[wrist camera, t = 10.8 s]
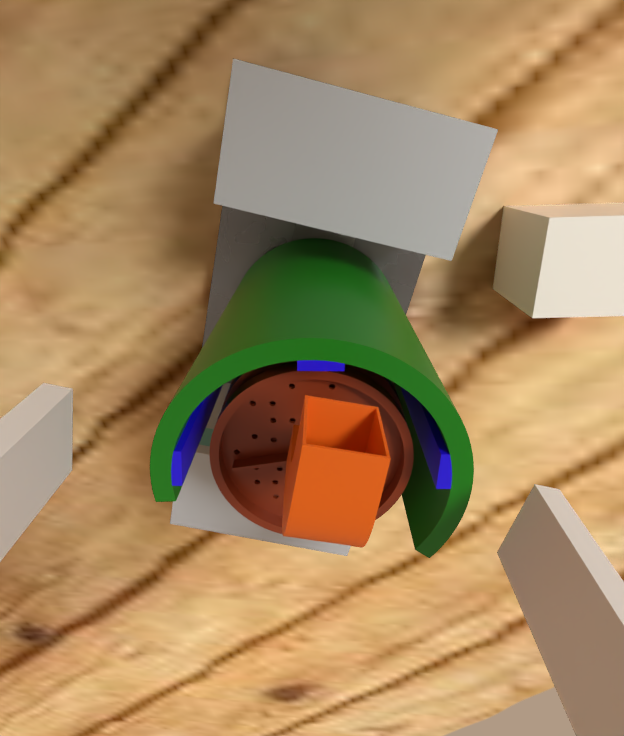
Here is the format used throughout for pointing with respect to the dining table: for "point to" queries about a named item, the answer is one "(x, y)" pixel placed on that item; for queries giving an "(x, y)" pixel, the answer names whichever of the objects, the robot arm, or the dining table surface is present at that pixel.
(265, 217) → the rail plate
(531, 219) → the loose relay
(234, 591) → the dining table surface
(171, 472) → the motor
